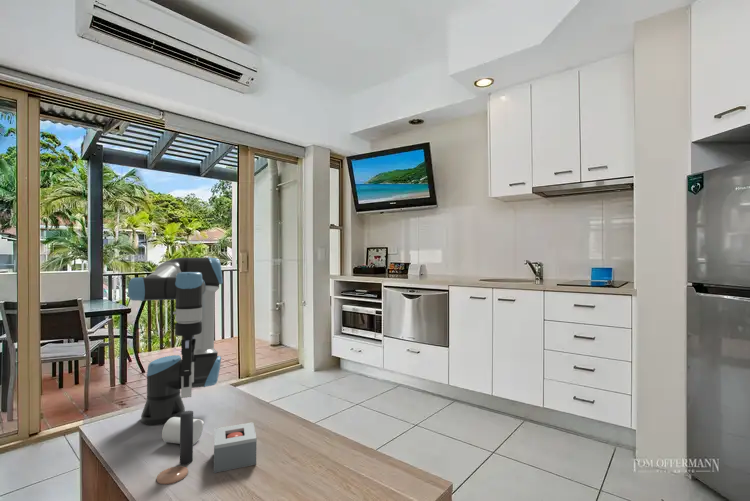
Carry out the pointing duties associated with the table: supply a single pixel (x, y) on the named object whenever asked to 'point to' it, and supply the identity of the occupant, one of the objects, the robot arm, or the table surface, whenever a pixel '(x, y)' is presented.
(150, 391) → the robot arm
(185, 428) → the rod
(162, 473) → the coaster
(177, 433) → the mug
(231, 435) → the button
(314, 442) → the table surface
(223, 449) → the square hole box
